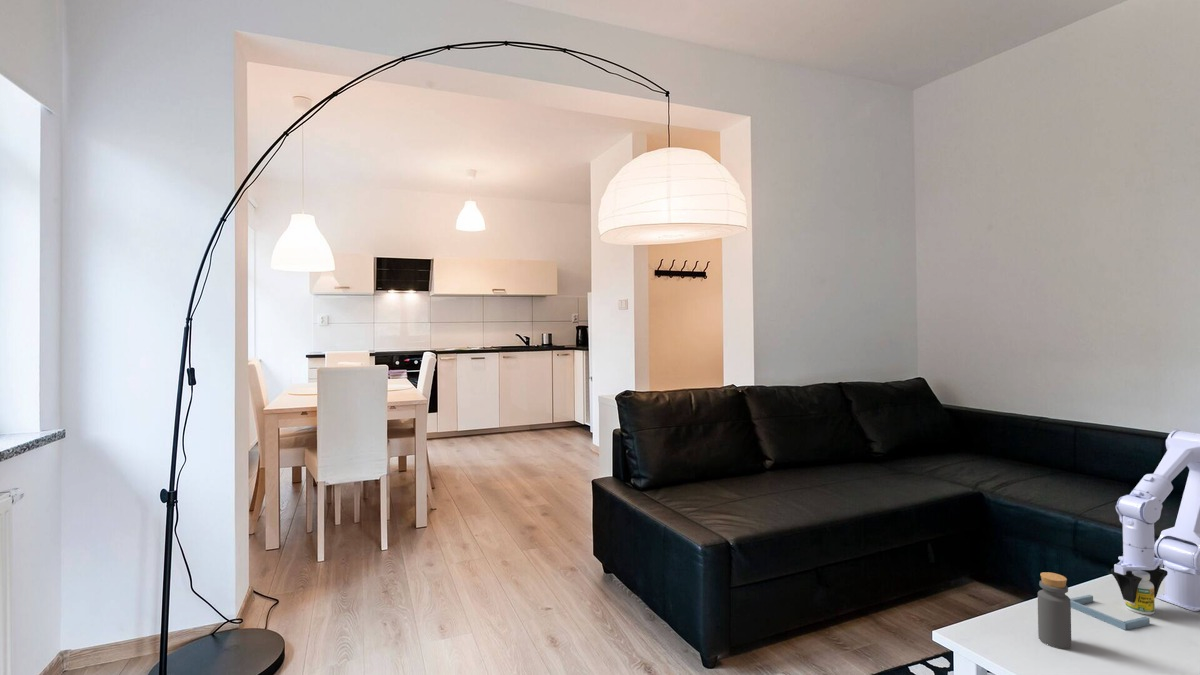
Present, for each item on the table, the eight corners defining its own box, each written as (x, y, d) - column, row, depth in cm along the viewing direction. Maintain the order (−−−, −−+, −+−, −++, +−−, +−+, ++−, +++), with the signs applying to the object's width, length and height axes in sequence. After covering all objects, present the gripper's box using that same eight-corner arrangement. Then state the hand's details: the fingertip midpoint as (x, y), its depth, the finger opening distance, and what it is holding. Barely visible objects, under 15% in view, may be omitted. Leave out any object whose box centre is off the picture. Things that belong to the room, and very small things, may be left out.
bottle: (1059, 635, 129) (1057, 571, 129) (1078, 649, 123) (1076, 582, 123) (1032, 634, 130) (1030, 570, 130) (1050, 648, 124) (1048, 581, 124)
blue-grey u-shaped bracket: (1089, 600, 146) (1089, 594, 146) (1149, 624, 133) (1149, 618, 133) (1066, 605, 143) (1066, 599, 143) (1125, 630, 131) (1125, 623, 131)
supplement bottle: (1141, 605, 143) (1140, 567, 143) (1161, 615, 137) (1160, 576, 137) (1119, 604, 143) (1118, 567, 143) (1138, 615, 138) (1137, 576, 138)
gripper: (1139, 535, 146) (1140, 587, 146) (1099, 542, 142) (1101, 595, 142) (1173, 545, 139) (1174, 599, 139) (1133, 552, 135) (1134, 608, 135)
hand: (1139, 598), depth 140 cm, fingers open, 7 cm apart
